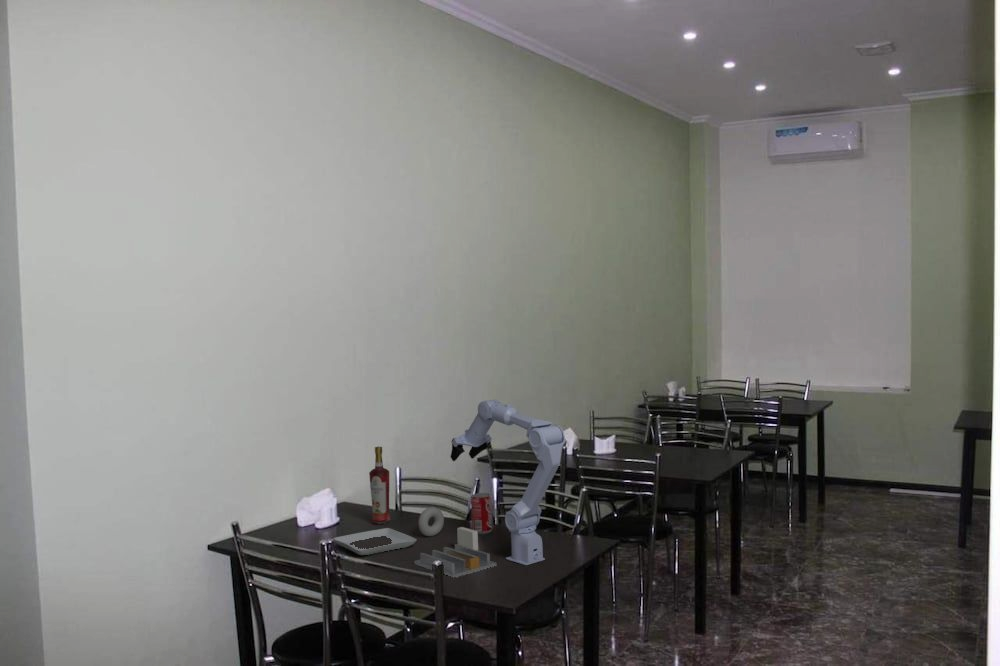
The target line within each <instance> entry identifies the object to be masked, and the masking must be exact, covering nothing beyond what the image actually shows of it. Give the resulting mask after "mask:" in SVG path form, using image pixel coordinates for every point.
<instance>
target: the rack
mask: <svg viewBox="0 0 1000 666" xmlns="http://www.w3.org/2000/svg"><path fill="white" fill-rule="evenodd" d="M419 558H420V559H417V560H414V561H413V563H414V565H415V566H419V567H421V568H424V569H427V570H429V569H430V570H429V571H432V563H433V562H434V561H435V560H440V561H442V562H443V565H444V574H445V575H444V576H446V575H448V576H447V577H449V576H451V577H450V578H452V577H453V578H452V579H455V578H454V577H456V578H459V576H460V577H463V576H466V574H467V575H470V574H473V572H474V573H477V572H480V570H481V571H484V570H487V568H488V569H490V567H491V568H495V567H497V562H496V561H492V560H491V559H490V558H491V557H490V553H489V552H485V551H482V550H479V549H478V550H476V549H472V548H469V547H466V546H462V545H459V544H458V543H456V544H454V548H451V547H447V546H444V547H443V551H440V550H436V549H433V550H431V555H430V554H428V553H425V552H420V553H419ZM494 566H495V567H494ZM483 569H484V570H483ZM462 575H463V576H462Z"/></svg>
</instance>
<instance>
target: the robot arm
mask: <svg viewBox="0 0 1000 666" xmlns="http://www.w3.org/2000/svg"><path fill="white" fill-rule="evenodd" d="M494 422H498V423H500V424H503V425H506V426H508V427H509V426H512V425H515V426H518V427H520V428H522V429H524V430H526V438H528V443H529V445H530V448H531V449H532V451H533V453H534V455H535V457H536V459H537V460H538V461H539V463H538V465H537V466H536V469H535V471H534V473H533V475H532V477H531V479H530V481H529V483H528V485H527V487H526V490H525V491H524V493H523V495H522V497H521V499H520V500H519V501H518V502H516V504H514V505H513V506H512V508H511V509H510V510H508V511H507V512H506V514H505V517H504V524H505V526H506V528H507V530H508V532H510V539H511V555H510V556H507V557H505V559H506V560H507V561H510V562H515V563H518V564H520V565H524V566H529V565H532V564H535V563H538V562H542V561H545V560H546V558H545V557H543V556H544V555H543V554H544V552H543V550H544V549H543V548H544V547H543V538H542V536H541V535H539V534H538V533H537V532H536V529H537V526H538V525H539V523H540V518H541V517H540V516H541V514H542V512H543V511H542V509H541V507H540V504H541V502H542V500H543V497H544V496H545V494H546V492H547V490H548V488H549V486H550V484H551V483H552V480H553V478H554V476H555V475H556V473H557V471H558V468H559V466H560V465H561V458H562V450H563V448H564V445H565V444H566V442H567V439H566V435H565V432H564V430H563V428H562V427H561V426H560V425H559V424H554V423H553V422H551V421H548V420H543V419H541V418H540V419H539V418H535V417H533V416H530V415H529V416H528V415H526V414H522V413H518V410H517V409H516V408H515V407H512V405H511V404H510V403H506V404H504V403H502V402H500V400H498V399H490V400H483V401H481V402H479V403H478V406H477V414H476V415H475V417H474V419H473V421H472V422H471V423H470V426H469V428H468V429H465V430H464V433H463V434H461V435H460V436H458V437H453V438H452V439H451V454H450V459H451V461H452V462H456V461H457V460H458V459H459V457H460V456H461V454H463V453H465V451H466V450H464V446H465V447H471V448H470V450H469V452H468V455H469V457H470V459H472V460H473V459H474V458H476V456H478V455H479V454H480V453H482V452H484V451H486V450H487V449H488V448H489V445H488V443H491V441H492V437H491V435H490V434H488V432H489V430H490V429H491V427H492V426H493V424H494Z"/></svg>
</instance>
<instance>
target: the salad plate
mask: <svg viewBox="0 0 1000 666" xmlns="http://www.w3.org/2000/svg"><path fill="white" fill-rule="evenodd" d="M381 536H386V537H387V538H390V539H391V540H392V541H391V542H392V543H391V544H388V545H383V546H378V547H374V548H369V549H366V548H365V549H364V548H363V549H362V548H361V549H360V548H359V549H358V547H355V545H354V544H353V545H350V543H352V542H355V541H359V540H365V539H369V538H373V537H381ZM332 540H333V542H334V543H336V544H337V545H339V546H340V547H343V548H345V549H347V550H349V551H351V552H353V553H355V554H357V555H359V556H363V555H368V556H370V555H369V554H373V553H378V552H384V551H388V552H390V551H389V550H393V551H395V550H394V549H398V550H401V549H400V548H402V549H406V548H409V547H410V546H413V544H415V543H416V542H417V538H415V537H413V536H410V535H408V534H406V533H403V532H400V531H398V530H395V529H393V528H389V527H385V528H380V529H372V530H367V531H362V532H356V533H352V534H347V535H341V536H336V537H333V538H332ZM384 553H385V552H384Z"/></svg>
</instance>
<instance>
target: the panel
mask: <svg viewBox="0 0 1000 666" xmlns="http://www.w3.org/2000/svg"><path fill="white" fill-rule="evenodd" d="M456 529H457V530H456V532H457V534H456V536H457V544H459V545H462V546H466V547H469V548H472V549H476V550H479V537H478V535H479V534H478V532H477V531H475V530H472V528H468V527H464V526H460V527H457V528H456Z"/></svg>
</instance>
